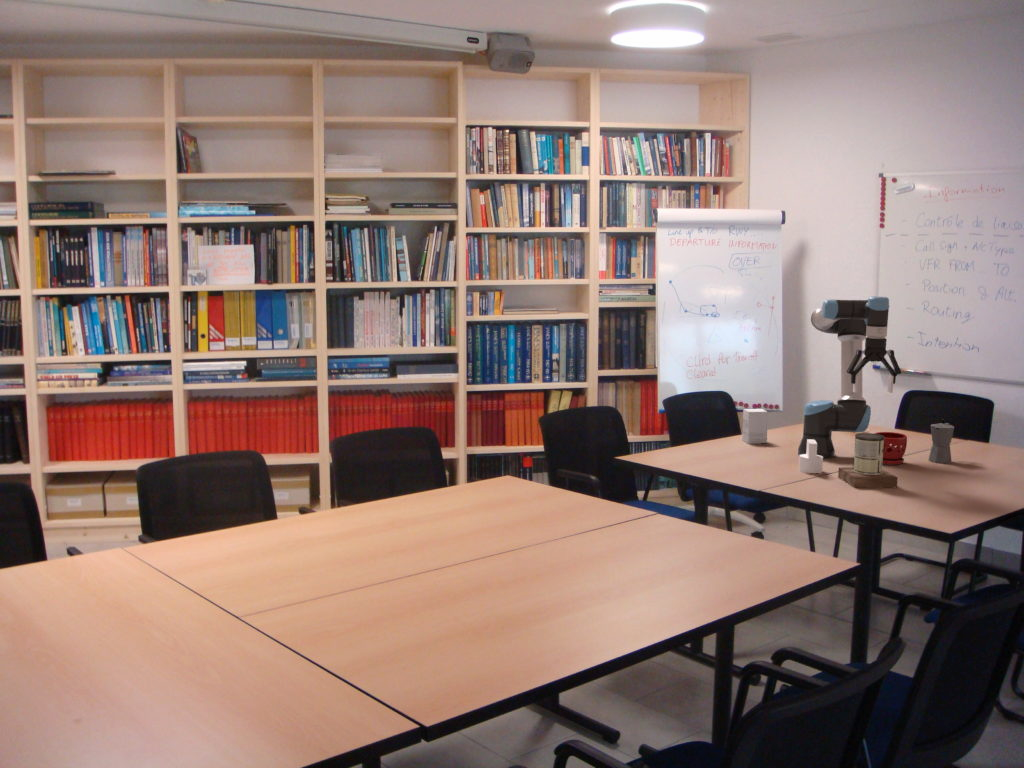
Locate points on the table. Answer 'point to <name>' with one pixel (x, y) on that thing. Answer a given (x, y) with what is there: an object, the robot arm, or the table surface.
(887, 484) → the walnut plinth
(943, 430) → the coffeepot
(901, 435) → the plant pot
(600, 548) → the table surface
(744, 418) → the supplement box
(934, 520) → the table surface
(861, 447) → the coffee can
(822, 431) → the robot arm
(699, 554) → the table surface
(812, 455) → the base with upright slab
